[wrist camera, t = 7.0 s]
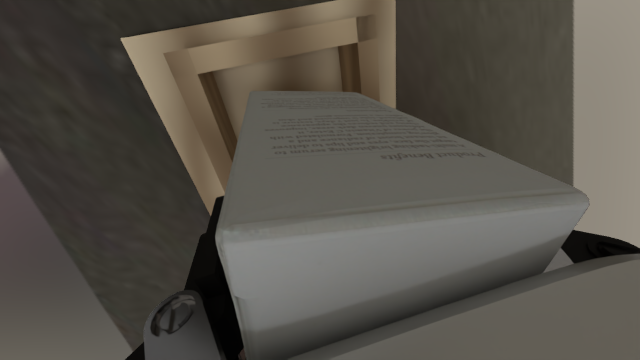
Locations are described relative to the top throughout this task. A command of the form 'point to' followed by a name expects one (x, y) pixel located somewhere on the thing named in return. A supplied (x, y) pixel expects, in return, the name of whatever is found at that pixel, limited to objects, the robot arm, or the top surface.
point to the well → (259, 72)
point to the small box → (371, 220)
